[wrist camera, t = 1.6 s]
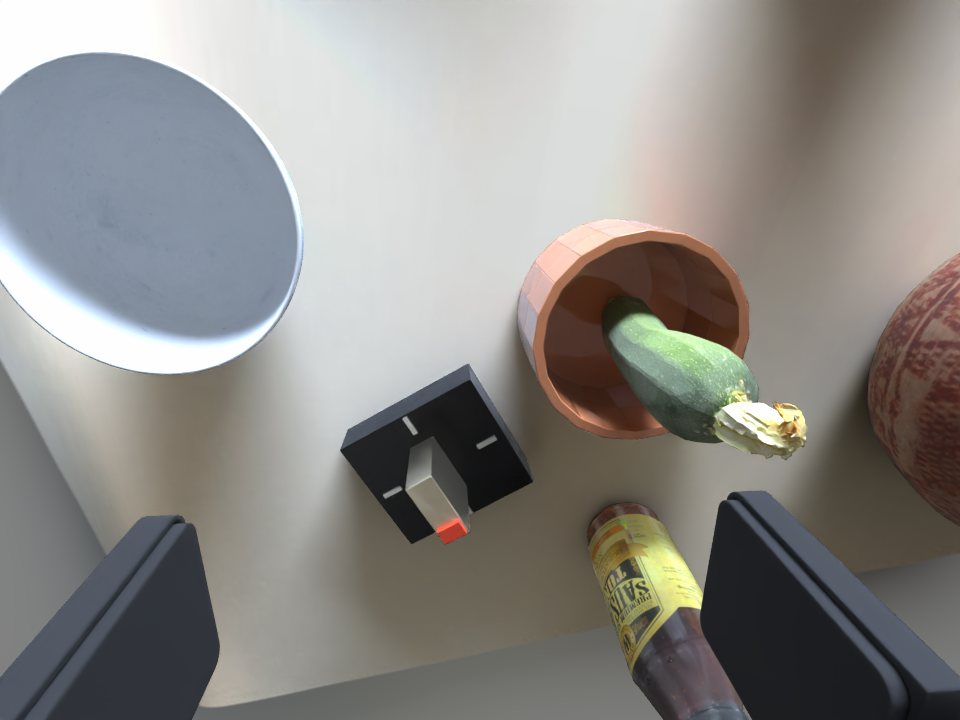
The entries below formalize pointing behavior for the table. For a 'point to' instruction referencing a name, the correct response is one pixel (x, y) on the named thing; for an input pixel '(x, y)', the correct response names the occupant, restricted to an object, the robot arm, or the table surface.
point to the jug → (922, 389)
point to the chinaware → (142, 213)
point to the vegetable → (696, 384)
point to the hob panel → (460, 433)
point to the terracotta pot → (585, 293)
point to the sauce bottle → (658, 616)
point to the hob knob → (438, 490)
